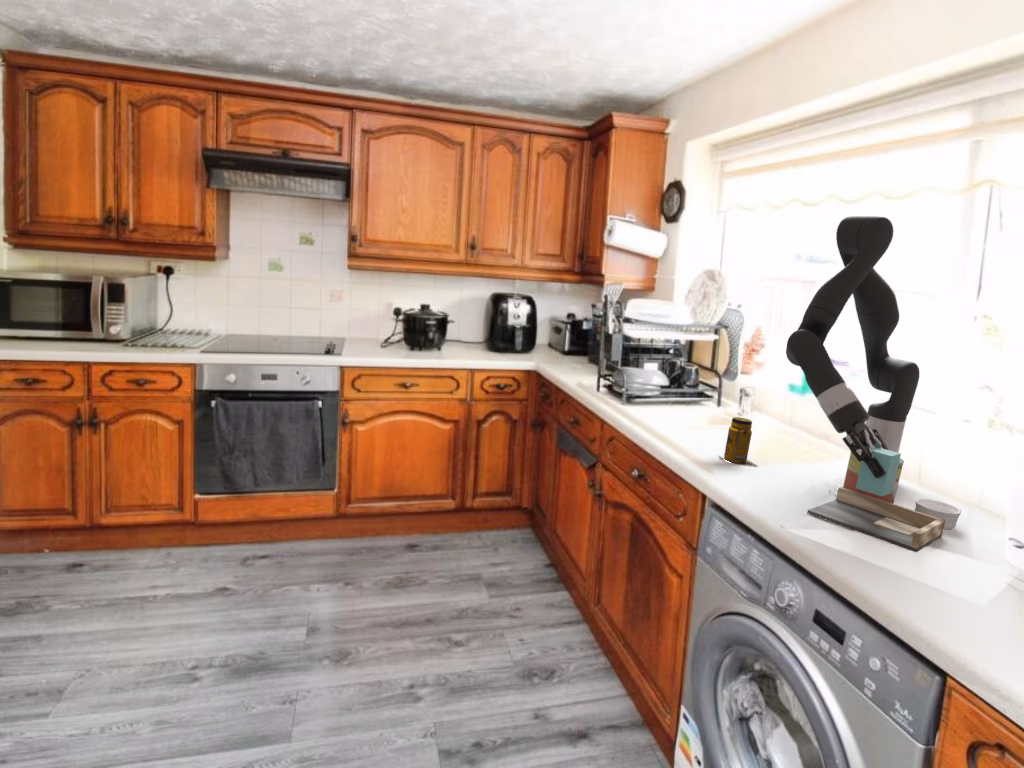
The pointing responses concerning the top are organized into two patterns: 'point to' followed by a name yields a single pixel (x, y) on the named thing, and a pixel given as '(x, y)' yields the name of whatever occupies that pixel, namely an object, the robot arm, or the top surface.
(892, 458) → the block
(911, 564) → the top surface
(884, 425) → the robot arm
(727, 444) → the condiment
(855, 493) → the tray
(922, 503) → the ramekin
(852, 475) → the canned food
